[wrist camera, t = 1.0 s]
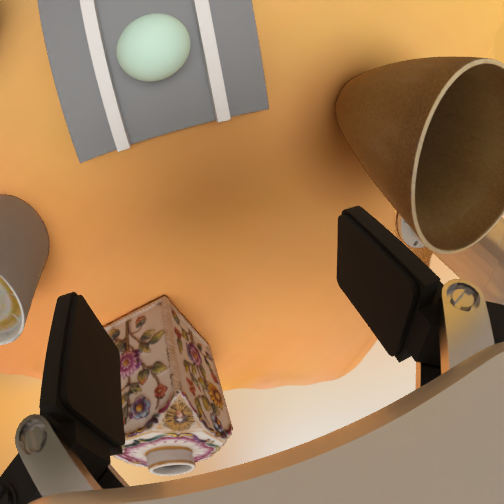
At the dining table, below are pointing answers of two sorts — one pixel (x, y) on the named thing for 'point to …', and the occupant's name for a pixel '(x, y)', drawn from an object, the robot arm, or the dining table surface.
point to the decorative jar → (168, 391)
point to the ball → (153, 47)
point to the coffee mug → (19, 263)
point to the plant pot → (432, 143)
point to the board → (145, 92)
